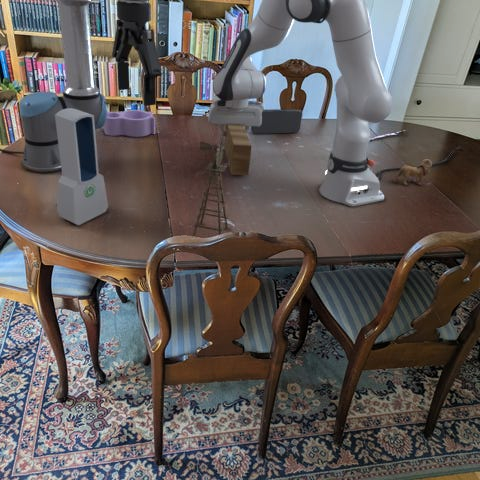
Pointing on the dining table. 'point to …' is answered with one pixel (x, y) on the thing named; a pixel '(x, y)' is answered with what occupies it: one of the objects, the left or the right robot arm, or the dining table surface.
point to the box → (237, 149)
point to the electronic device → (79, 168)
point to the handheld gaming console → (279, 121)
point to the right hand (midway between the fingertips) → (233, 136)
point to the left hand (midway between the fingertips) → (136, 97)
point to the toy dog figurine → (415, 171)
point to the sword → (386, 135)
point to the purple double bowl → (130, 123)
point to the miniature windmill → (215, 168)
